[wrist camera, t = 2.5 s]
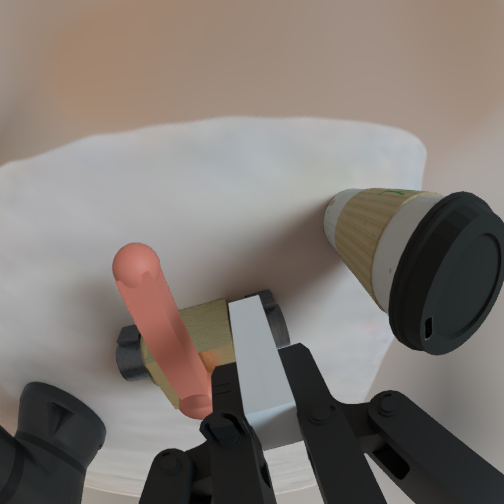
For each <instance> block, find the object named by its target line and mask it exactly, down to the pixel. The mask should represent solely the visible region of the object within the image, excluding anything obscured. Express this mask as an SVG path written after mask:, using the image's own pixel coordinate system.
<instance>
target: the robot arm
mask: <svg viewBox="0 0 504 504" xmlns="http://www.w3.org/2000/svg"><path fill="white" fill-rule="evenodd" d="M228 304H229V312H230V320H231V327H232V334H233V342H234V349H235V356H236V362H232V363H228V364H224V365H219V366H215V369H214V371H213V373H212V375H211V387H212V388H211V390H212V410H213V412H212V413H210V414H209V415H208V416H206V417H205V418H204V420H203V421H202V422H201V424H200V429H199V431H200V432H201V433H202V434H203V436H204V437H205V438H206V439H207V441H205V442H204V443H203V444H201V445H199V446H197V447H195V448H192V449H190V450H188V451H185V452H183V451H182V450H179V449H176V448H173V449H166V450H163V451H161V452H160V453H159V454H157V455H156V457H155V458H154V460H153V462H152V465H151V468H150V471H149V474H148V477H147V480H146V483H145V486H144V489H143V491H142V494H141V498H140V501H139V504H277V503H276V499H275V495H274V490H273V486H272V482H271V478H270V473H269V469H268V465H267V462H266V460H265V458H264V455H263V450H264V451H265V450H269V449H273V448H277V447H281V446H285V445H289V444H292V443H296V442H299V441H302V440H304V443H305V446H306V450H307V454H308V459H309V460H310V463H311V466H312V469H313V472H314V475H315V478H316V481H317V484H318V486H319V490H320V493H321V495H322V498H323V501H324V504H387V502H386V500H385V498H384V496H383V493H382V491H381V489H380V487H379V485H378V483H377V481H376V479H375V477H374V474H373V472H372V470H371V468H370V466H369V464H368V462H367V460H366V458H365V456H364V453H367V454H368V455H369V456H370V457H371V459H373V461H374V462H375V463H376V464H377V465H378V466H379V467H380V468H381V469H382V470H383V471H384V472H385V473H386V474H387V475H388V476H389V477H390V479H391V480H392V481H393V482H394V483H395V484H396V485H397V486H398V487H399V488H400V489H401V490H402V491H403V492H404V493H405V494H406V495H407V496H408V497H409V498H410V499H411V500H412V501H414V503H416V504H504V475H503V474H502V473H501V472H500V471H498V470H497V469H496V468H494V467H493V466H492V465H491V464H489V463H488V462H487V461H486V460H484V459H483V458H482V457H480V456H479V455H478V454H477V453H475V452H474V451H473V450H472V449H470V448H469V447H468V446H467V445H465V444H464V443H463V442H462V441H460V440H459V439H458V438H457V437H455V436H454V435H453V434H452V433H450V432H449V431H448V430H447V429H446V428H444V427H443V426H442V425H441V424H439V423H438V422H437V421H435V420H434V419H433V418H432V417H431V416H430V415H428V414H427V413H426V412H425V411H423V410H422V409H421V408H420V407H418V406H417V405H416V404H415V403H414V402H412V401H411V400H410V399H409V398H408V397H406V396H405V395H404V394H402V393H400V392H398V391H392V390H388V391H383V392H381V393H379V394H377V395H376V396H374V397H373V398H372V399H371V401H370V402H368V403H359V404H345V403H341V402H339V401H337V400H336V399H335V398H333V396H332V395H331V394H330V392H329V389H328V387H327V385H326V383H325V381H324V379H323V377H322V375H321V373H320V371H319V369H318V367H317V365H316V363H315V361H314V359H313V356H312V354H311V352H310V350H309V349H308V348H307V347H305V346H304V345H303V344H301V343H297V344H294V345H291V346H288V347H284V348H281V349H278V350H277V348H276V345H275V342H274V339H273V336H272V333H271V330H270V327H269V324H268V321H267V318H266V315H265V312H264V310H263V307H262V304H261V301H260V298H259V295H256V296H253V297H249V298H245V299H242V300H238V301H234V302H231V303H228ZM105 436H106V428H105V426H104V424H103V422H102V421H101V419H100V418H99V417H98V416H97V415H96V414H95V413H94V412H93V411H92V410H91V409H90V408H89V407H87V406H86V405H85V404H83V403H82V402H81V401H79V400H78V399H76V398H75V397H73V396H71V395H70V394H68V393H66V392H64V391H62V390H60V389H58V388H56V387H53V386H51V385H48V384H44V383H38V382H33V383H29V384H27V385H26V387H25V388H24V390H23V392H22V394H21V397H20V405H19V414H18V428H17V431H16V434H15V436H14V437H13V436H12V435H11V434H9V433H8V432H7V431H6V430H5V429H4V428H3V427H2V426H1V425H0V504H81V500H82V493H83V487H84V481H85V475H86V470H87V467H88V466H89V464H90V463H91V462H92V460H93V459H94V457H95V455H96V454H97V452H98V450H100V449H101V448H102V446H103V444H104V441H105ZM262 449H263V450H262Z"/></svg>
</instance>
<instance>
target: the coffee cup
mask: <svg viewBox="0 0 504 504" xmlns="http://www.w3.org/2000/svg"><path fill="white" fill-rule="evenodd" d="M323 227H324V232H325V236H326V238H327V239H328V241H329V242H330V243H331V245H332V246H333V247H334V248H335V249H336V251H337V252H338V254H339V256H340V258H341V259H342V260H343V261H344V263H345V264H346V265H347V266H348V268H349V269H350V270H351V271H352V273H353V274H354V275H355V277H356V278H357V279H358V280H359V282H360V283H361V284H362V286H363V287H364V288H365V289H366V291H367V292H368V293H369V295H370V296H371V297H372V299H373V300H374V301H375V303H376V304H377V305H378V307H379V308H380V309H381V310H382V311H384V312H385V313H387V314H388V316H389V324H390V326H391V329H392V332H393V334H394V336H395V337H396V338H397V339H398V341H399V342H401V343H403V344H404V345H406V346H407V347H409V348H411V349H413V350H418V351H425V352H427V353H429V354H431V355H443V354H446V353H449V352H451V351H453V350H455V349H456V348H458V347H459V346H461V345H462V344H463V343H464V342H466V341H467V340H468V339H469V338H470V337H471V336H472V335H473V334H474V333H475V332H476V331H477V330H478V328H479V327H480V326H481V324H482V323H483V322H484V320H485V319H486V317H487V316H488V314H489V313H490V311H491V309H492V307H493V305H494V303H495V302H496V300H497V297H498V295H499V292H500V290H501V287H502V284H503V281H504V223H503V221H502V220H501V218H500V217H498V216H497V215H496V214H495V213H494V212H493V211H492V210H491V208H490V207H489V206H488V204H487V203H486V202H485V201H484V200H482V199H481V198H479V197H477V196H476V195H474V194H472V193H468V192H464V191H462V192H456V193H452V194H450V195H448V196H442V195H440V194H438V193H434V192H427V191H426V192H425V191H415V190H401V189H384V188H370V189H347V190H344V191H342V192H340V193H339V194H337V195H336V196H335V197H334V198H333V199H332V200H331V201H330V203H329V204H328V206H327V208H326V211H325V214H324V220H323Z"/></svg>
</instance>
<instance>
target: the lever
mask: <svg viewBox="0 0 504 504" xmlns="http://www.w3.org/2000/svg"><path fill="white" fill-rule="evenodd" d="M112 270H113V275H114V278H115V280H116V281H115V283H116V285H117V287H118V290H119V292H120V294H121V296H122V298H123V300H124V302H125V304H126V306H127V308H128V310H129V312H130V314H131V316H132V318H133V320H134V322H135V324H136V326H137V328H138V330H139V332H140V333H141V335H142V337H143V339H144V341H145V342H146V344H147V346H148V348H149V350H150V351H151V353H152V355H153V356H154V358H155V360H156V362H157V363H158V365H159V366H160V368H161V370H162V371H163V373H164V375H165V376H166V378H167V379H168V381H169V382H170V384H171V386H172V387H173V389H174V390H175V392H176V393H177V395H178V396H179V409H180V411H181V412H182V413H183V414H184V415H186V416H188V417H190V418H193V419H199V420H204V418H205V417H206V416H208V415H209V414H210V413H212V412H213V410H212V390H211V388H212V387H211V375H212V373H210V372H207V371H206V369H205V367H204V365H203V363H202V361H201V359H200V357H199V355H198V352H197V350H196V348H195V346H194V344H193V342H192V340H191V338H190V336H189V333H188V331H187V329H186V327H185V325H184V322H183V320H182V318H181V316H180V313H179V311H178V309H177V306H176V304H175V302H174V299H173V297H172V295H171V292H170V290H169V287H168V285H167V282H166V280H165V277H164V275H163V272H162V270H161V267H160V261H159V258H158V256H157V254H156V253H155V252H154V250H153V249H152V248H150V247H149V246H147V245H145V244H142V243H130V244H128V245H125V246H124V247H122V248H121V249H120V250H119V251H118V252H117V254H116V255H115V257H114V260H113V265H112Z"/></svg>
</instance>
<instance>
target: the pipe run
mask: <svg viewBox="0 0 504 504" xmlns="http://www.w3.org/2000/svg"><path fill="white" fill-rule="evenodd" d="M256 295H259V298H260V301H261V304H262V307H263V310H264V312H265V315H266V318H267V321H268V324H269V327H270V330H271V333H272V336H273V339H274V342H275V345H276V348H277V349H278V348H282V347H285V346H288V345H290V338H289V333H288V330H287V326H286V323H285V320H284V317H283V314H282V311H281V309H280V307H279V305H278V304H275V301H274V299H273V297H272V294H271V292H270V290H265V291H262V292H258V293H255V294H251V295H248V296H245V298H249V297H253V296H256ZM178 311H179V313H180V316H181V318H182V320H183V322H184V325H185V327H186V329H187V331H188V333H189V336H190V338H191V340H192V342H193V344H194V346H195V348H196V350H197V352H198V355H199V357H200V359H201V361H202V363H203V365H204V367H205V369H206V371H207V372H210V373H213V371H214V369H215V366H219V365H224V364H228V363H232V362H236V356H235V349H234V342H233V334H232V327H231V320H230V312H229V308H228V305H227V302H226V299H225V298H224V299H220V300H216V301H213V302H209V303H205V304H201V305H198V306H194V307H190V308H186V309H182V310H178ZM117 343H118V344H119V345H118V346H117V349H116V361H117V365H118V368H119V371H120V373H121V374H122V376H123V377H124V378H125V379H126V380H127V381H137V380H144V379H150V378H151V380H152V381H153V382H154V383H155V384H156V385H157V386H159V387H160V388H161V389H162V391H163V392H164V394H165V395H166V397H167V398H168V399H169V401H170V402H171V403H172V405H173V406H174V408H175V409H179V396H178V395H177V393H176V392H175V390H174V389H173V387H172V386H171V384H170V382H169V381H168V379H167V378H166V376H165V375H164V373H163V371H162V370H161V368H160V366H159V365H158V363H157V362H156V360H155V358H154V356H153V355H152V353H151V351H150V350H149V348H148V346H147V344H146V342H145V341H144V339H143V337H142V335H141V333H140V332H139V330H138V328H137V326H136V325H132V326H127V327H123V328H122V330H121V333H120V335H119V338H118V340H117Z"/></svg>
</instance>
